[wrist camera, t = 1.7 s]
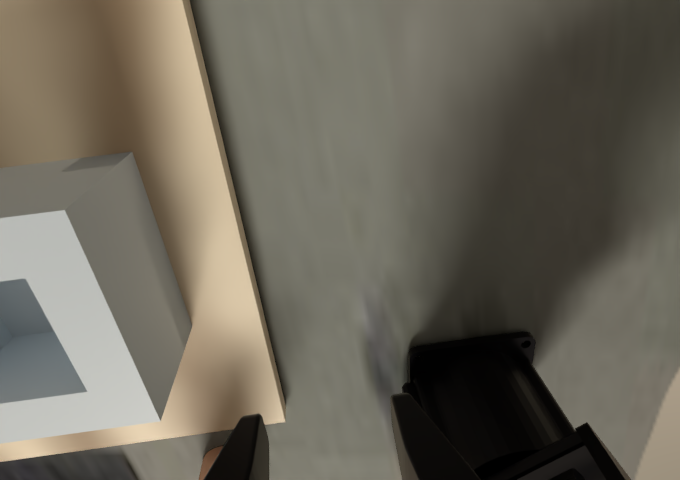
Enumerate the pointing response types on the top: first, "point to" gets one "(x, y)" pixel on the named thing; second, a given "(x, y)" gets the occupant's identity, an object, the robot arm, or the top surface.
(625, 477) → the robot arm
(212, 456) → the dowel
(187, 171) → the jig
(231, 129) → the top surface
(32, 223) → the block
